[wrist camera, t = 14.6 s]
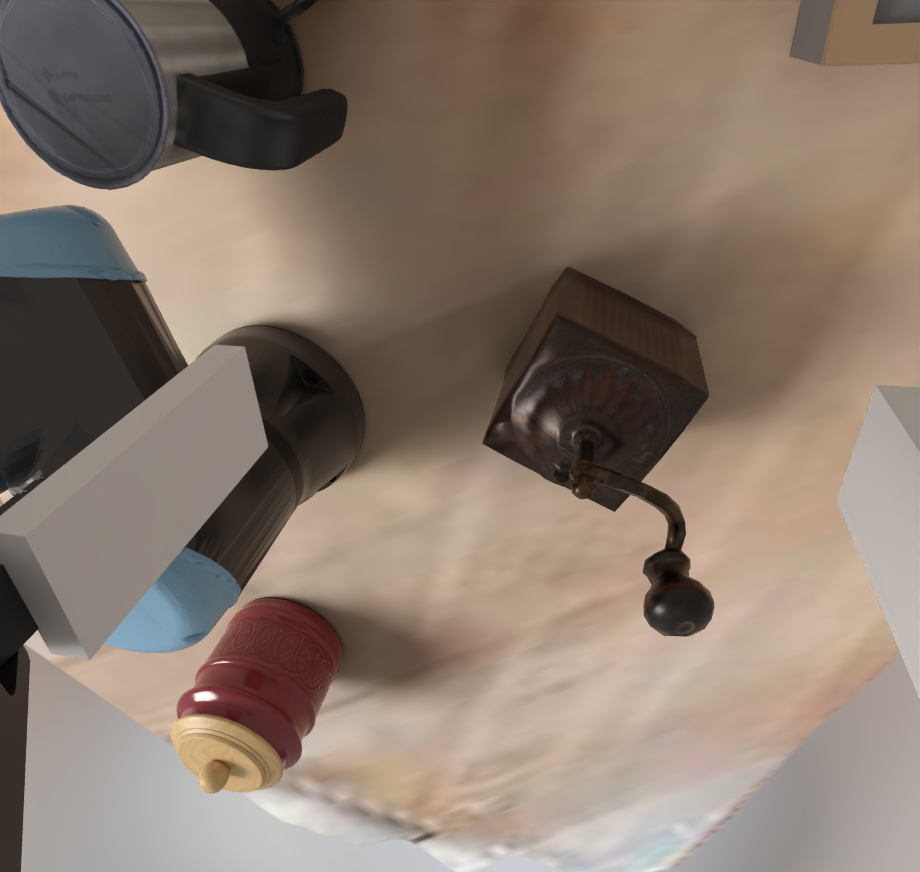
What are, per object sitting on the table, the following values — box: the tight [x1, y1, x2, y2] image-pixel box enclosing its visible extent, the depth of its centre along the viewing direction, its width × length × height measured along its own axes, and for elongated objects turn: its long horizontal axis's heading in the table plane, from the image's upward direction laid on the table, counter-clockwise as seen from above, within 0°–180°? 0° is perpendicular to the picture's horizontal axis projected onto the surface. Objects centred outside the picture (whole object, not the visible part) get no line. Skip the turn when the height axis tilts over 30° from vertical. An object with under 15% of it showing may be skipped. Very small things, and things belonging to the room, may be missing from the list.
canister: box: [171, 598, 342, 793], centre depth 66 cm, size 13×13×18 cm
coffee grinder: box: [482, 267, 714, 636], centre depth 40 cm, size 16×11×18 cm
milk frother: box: [0, 0, 347, 190], centre depth 34 cm, size 14×16×15 cm
